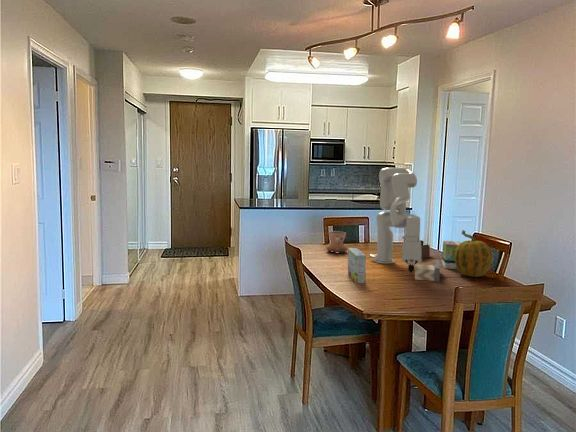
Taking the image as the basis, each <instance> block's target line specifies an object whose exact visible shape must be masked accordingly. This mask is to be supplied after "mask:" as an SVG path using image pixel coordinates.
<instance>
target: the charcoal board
mask: <svg viewBox="0 0 576 432" xmlns="http://www.w3.org/2000/svg"><path fill="white" fill-rule="evenodd" d="M434 265H435V278H434V281H433V282H438V283H439V282H440V274H441V273H440V272H441V267H440V260H437V259H436V260H434Z"/></svg>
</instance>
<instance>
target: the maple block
mask: <svg viewBox="0 0 576 432" xmlns="http://www.w3.org/2000/svg"><path fill="white" fill-rule="evenodd" d="M434 278H435V264H434V265H433V264H418V263H416V264H415V266H414V280H417V281H431V282H435V281H434Z"/></svg>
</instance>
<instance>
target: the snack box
mask: <svg viewBox="0 0 576 432" xmlns="http://www.w3.org/2000/svg"><path fill="white" fill-rule="evenodd" d="M366 258H367V256H366V254H365V253H363V252H362V251H361V250H360V249H358V248H357V247H347V274H349V275H348V276H349V277H350V278H351V279H352V280H353V282H354V283H355V284H356V285H357V284H358V285H359V284H360V285H361V284H366V279H367V278H366V274H367V273H366V268H367V267H366V266H367V264H366V261H367V259H366Z"/></svg>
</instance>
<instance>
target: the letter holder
mask: <svg viewBox="0 0 576 432" xmlns="http://www.w3.org/2000/svg"><path fill="white" fill-rule="evenodd" d="M403 240H404V241H405V239H403ZM404 241H403V242H404ZM420 242H421V249H422V255H421V259H422V260H423V259H425V258H426V259H427V258H428V257H430V256H431V255H430V248H431V247H430V244H424V243H425V242H424V240H421V239H420Z"/></svg>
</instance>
